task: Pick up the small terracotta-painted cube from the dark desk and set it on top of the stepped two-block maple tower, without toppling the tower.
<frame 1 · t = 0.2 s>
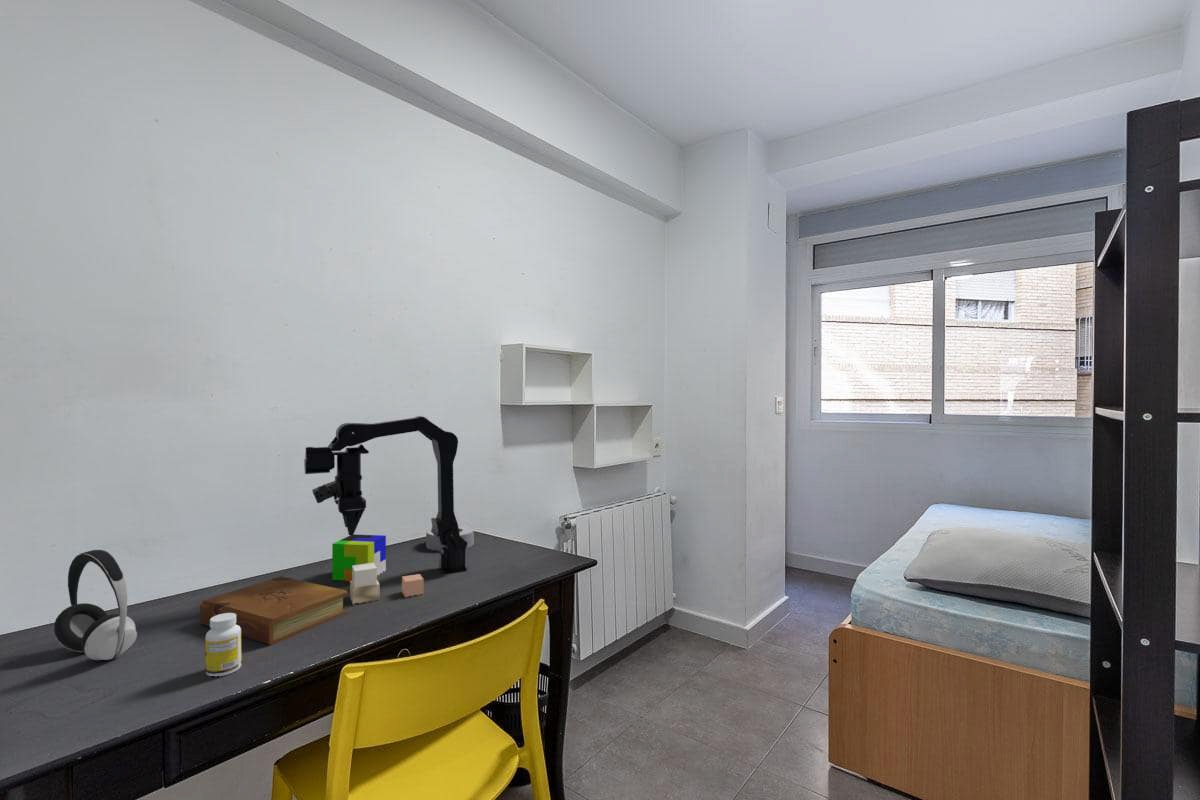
hand: (349, 530, 146), 14 cm above the table, tool pointing down, fingers open, 9 cm apart
tower top: (364, 583, 137), point 4 cm above the table
diary: (275, 621, 125), on the table
supplement bottle: (223, 671, 102), on the table
puzzle toy: (359, 576, 155), on the table
cube: (412, 593, 141), on the table
headphones: (95, 655, 107), on the table
tower base: (364, 598, 138), on the table
tape roll: (450, 546, 186), on the table
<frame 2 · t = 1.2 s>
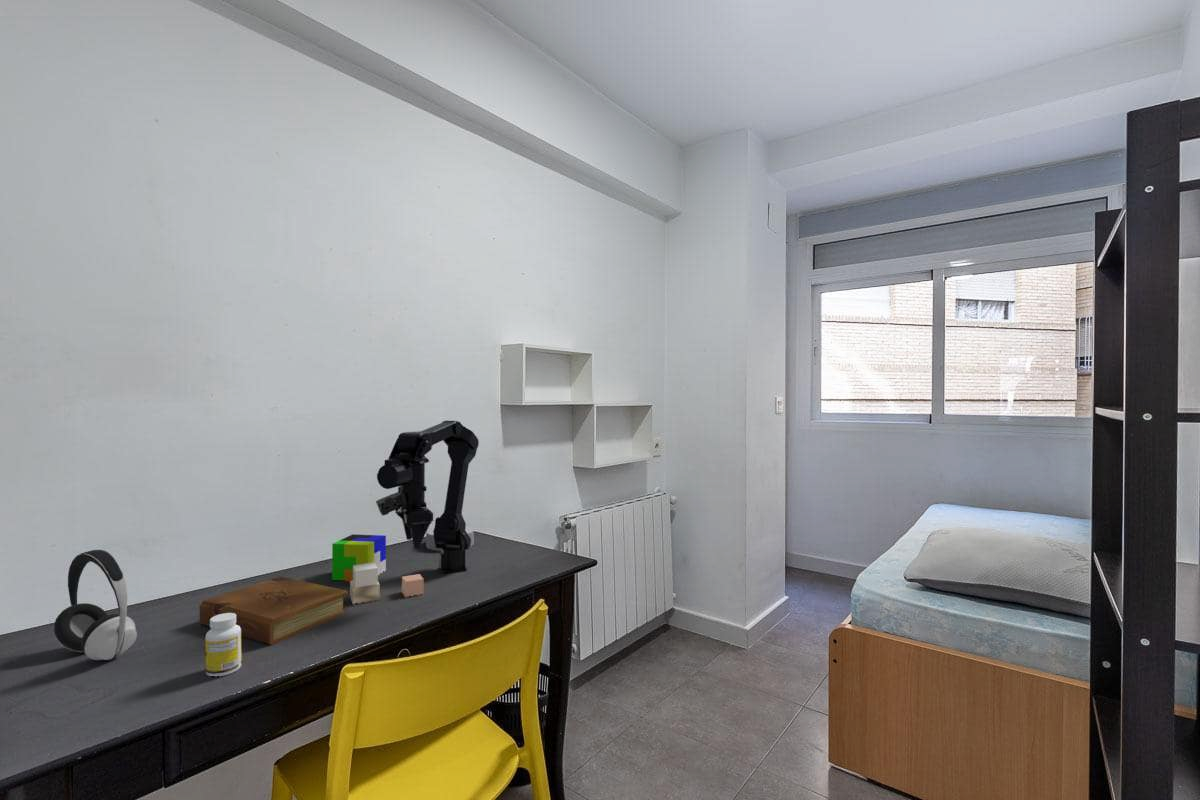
hand: (412, 543, 141), 12 cm above the table, tool pointing down, fingers open, 9 cm apart
tower top: (365, 582, 137), point 4 cm above the table, touching tower base
tower base: (364, 598, 138), on the table, touching tower top
everything else where it was.
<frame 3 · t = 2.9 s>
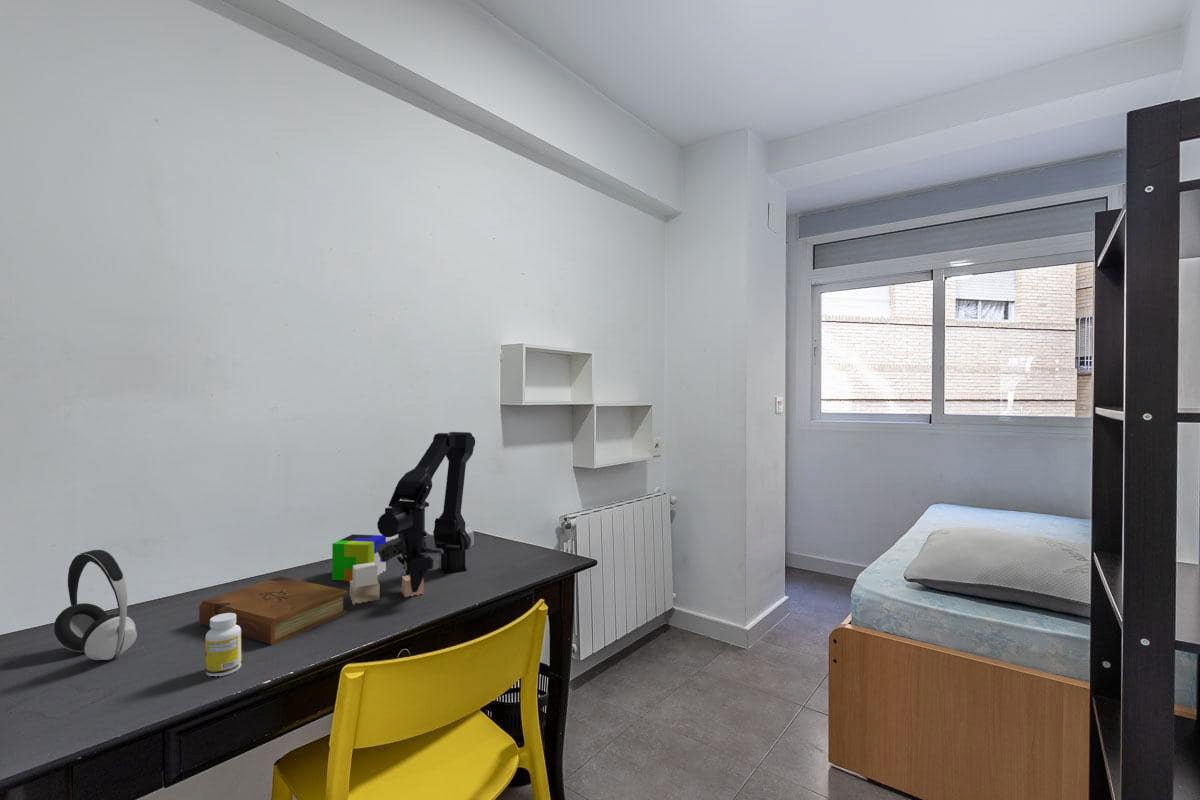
hand: (412, 588, 141), 1 cm above the table, tool pointing down, fingers closed on cube, 4 cm apart
cube: (412, 593, 141), on the table, touching gripper
everything else where it was.
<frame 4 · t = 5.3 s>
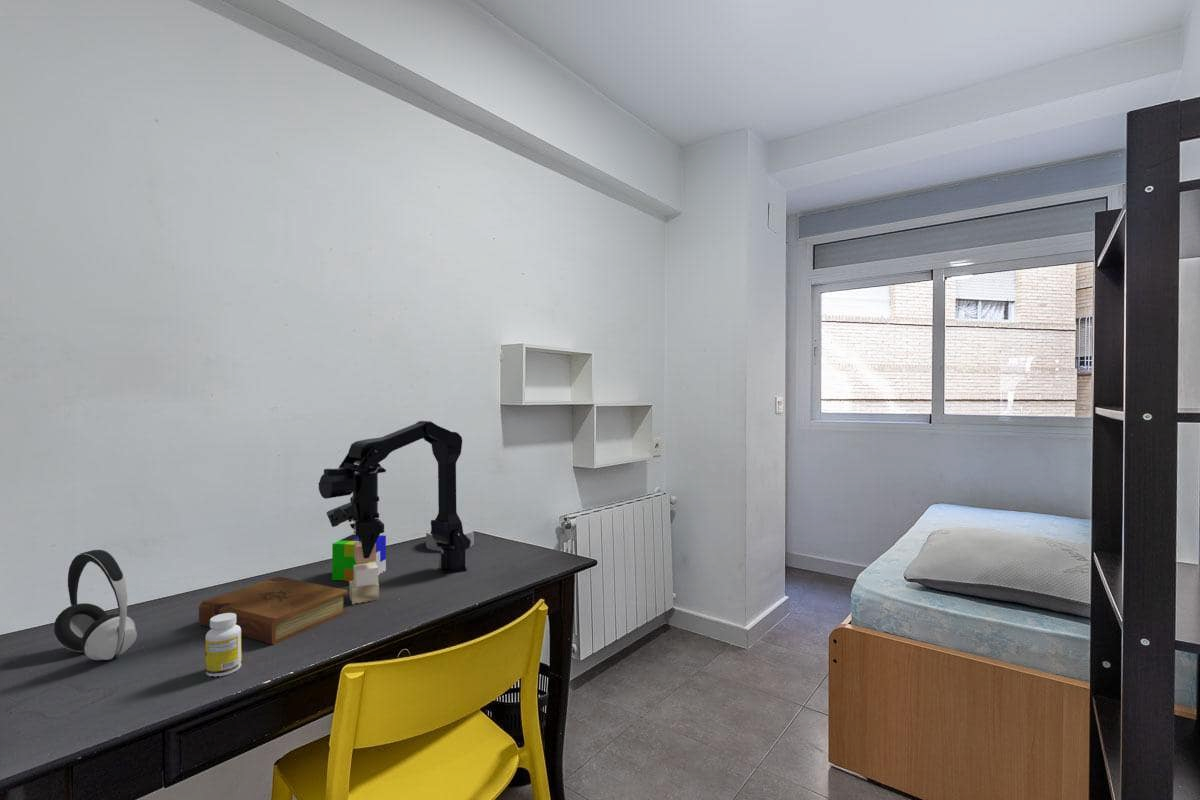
hand: (365, 555, 138), 10 cm above the table, tool pointing down, fingers closed on cube, 4 cm apart
cube: (365, 559, 138), point 9 cm above the table, touching gripper
everything else where it was.
when the fingers open (10 cm above the table, at t = 5.7 s): cube drops 1 cm, resting on tower top.
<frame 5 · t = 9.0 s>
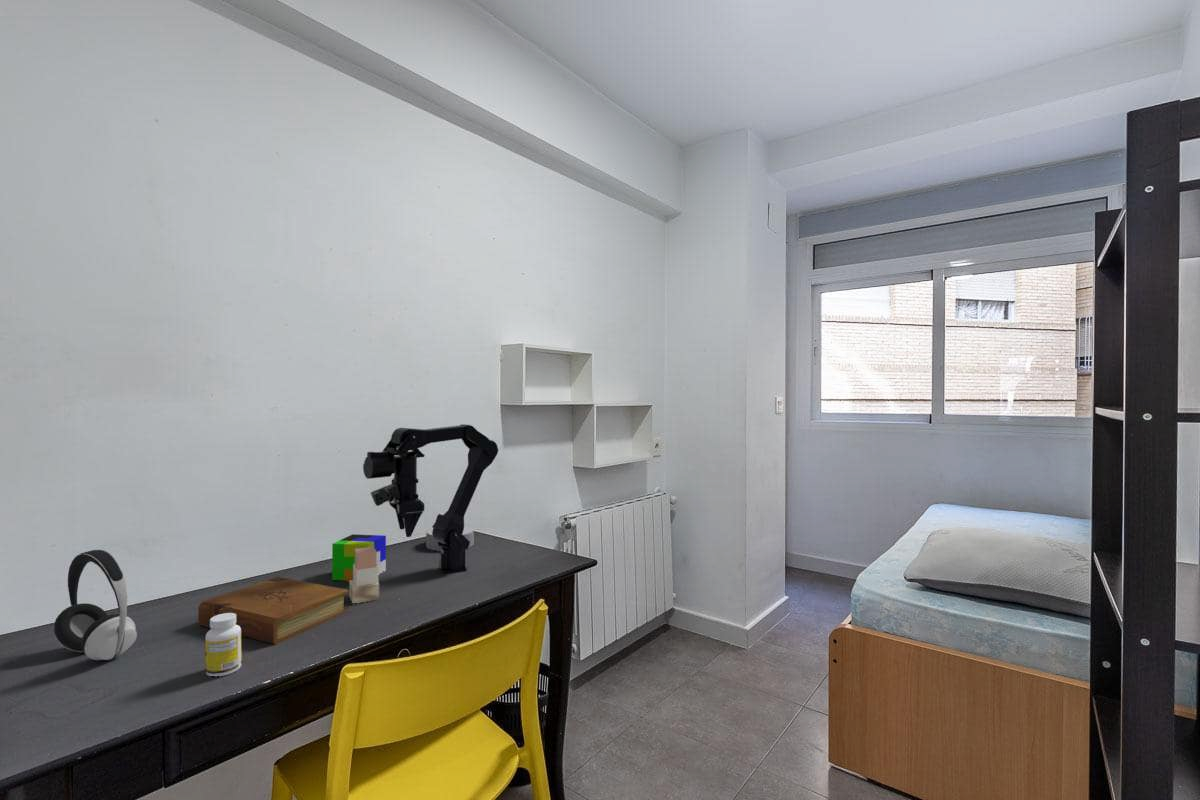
hand: (405, 532, 150), 13 cm above the table, tool pointing down, fingers open, 9 cm apart
tower top: (365, 581, 138), point 4 cm above the table, touching cube, tower base
cube: (365, 566, 138), point 8 cm above the table, touching tower top
everything else where it was.
at the end: cube 0.3 cm off-centre on the tower base, point 8.0 cm above the tower base's base; tower top tilted 0°; the gripper is holding nothing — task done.
